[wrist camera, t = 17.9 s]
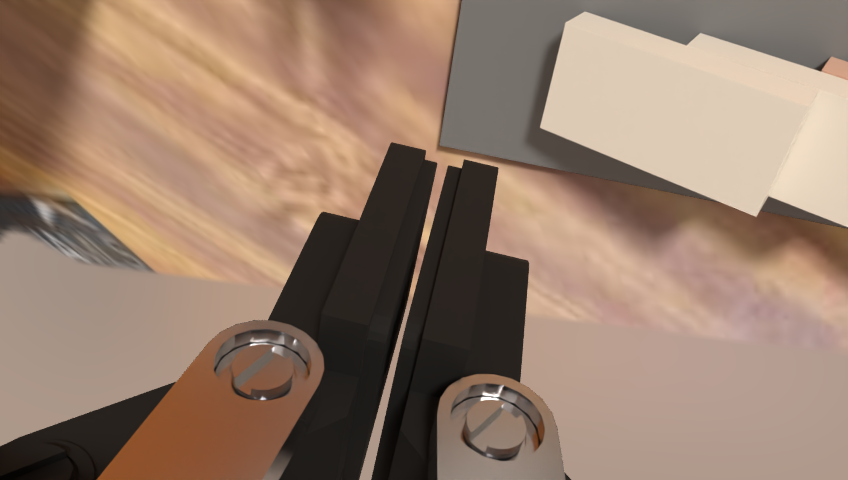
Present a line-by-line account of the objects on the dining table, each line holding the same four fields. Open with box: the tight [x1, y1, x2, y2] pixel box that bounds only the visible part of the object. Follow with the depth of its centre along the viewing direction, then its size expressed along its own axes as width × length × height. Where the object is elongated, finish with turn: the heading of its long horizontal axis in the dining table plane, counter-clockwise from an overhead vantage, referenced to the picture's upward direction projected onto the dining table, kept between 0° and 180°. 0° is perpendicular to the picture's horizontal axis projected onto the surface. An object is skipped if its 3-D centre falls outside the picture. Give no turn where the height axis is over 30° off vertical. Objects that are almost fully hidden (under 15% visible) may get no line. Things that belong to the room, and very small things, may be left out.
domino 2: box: [687, 33, 848, 227], centre depth 32 cm, size 2×5×10 cm
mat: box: [440, 0, 848, 229], centre depth 34 cm, size 26×11×1 cm, turn 83°
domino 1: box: [540, 12, 819, 217], centre depth 32 cm, size 2×5×10 cm
